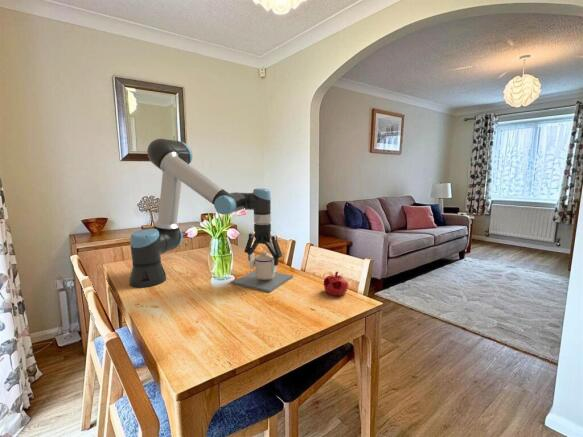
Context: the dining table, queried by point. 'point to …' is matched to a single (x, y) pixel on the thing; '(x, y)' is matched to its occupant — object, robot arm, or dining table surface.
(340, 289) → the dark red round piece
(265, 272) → the teacup with lid
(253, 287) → the slate tile
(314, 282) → the dining table surface
